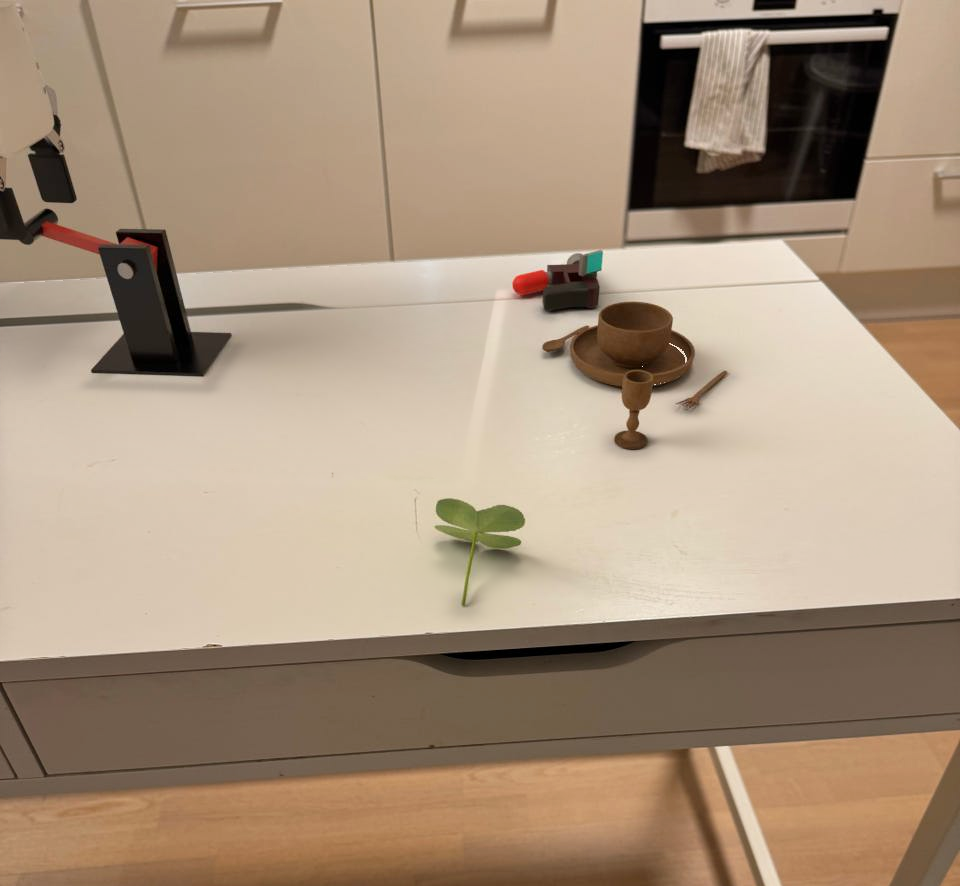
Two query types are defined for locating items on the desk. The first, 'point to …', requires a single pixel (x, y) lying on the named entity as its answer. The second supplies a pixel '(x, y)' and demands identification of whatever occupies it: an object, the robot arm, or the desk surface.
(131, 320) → the bracket
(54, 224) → the lever
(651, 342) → the place setting
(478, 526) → the green clover sprout
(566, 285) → the toy gun
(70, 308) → the desk surface
